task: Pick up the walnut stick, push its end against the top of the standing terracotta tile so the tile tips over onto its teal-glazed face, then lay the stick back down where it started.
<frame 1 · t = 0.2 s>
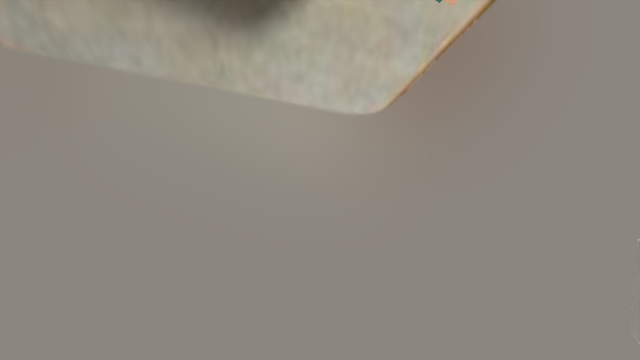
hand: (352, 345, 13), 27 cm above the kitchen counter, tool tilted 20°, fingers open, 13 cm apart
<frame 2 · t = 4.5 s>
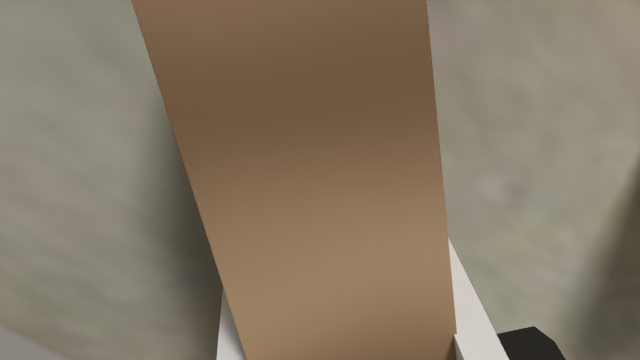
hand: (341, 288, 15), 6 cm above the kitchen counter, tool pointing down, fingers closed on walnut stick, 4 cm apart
walnut stick: (339, 275, 16), point 5 cm above the kitchen counter, touching gripper
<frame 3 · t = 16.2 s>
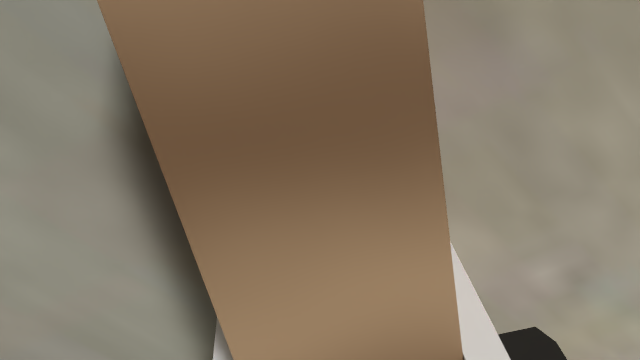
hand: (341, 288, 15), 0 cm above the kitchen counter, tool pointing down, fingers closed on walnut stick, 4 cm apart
walnut stick: (341, 290, 16), on the kitchen counter, touching gripper
when the fingers open (0 cm above the kitchen counter, at t = 17.0 s): walnut stick stays where it is, on the kitchen counter.
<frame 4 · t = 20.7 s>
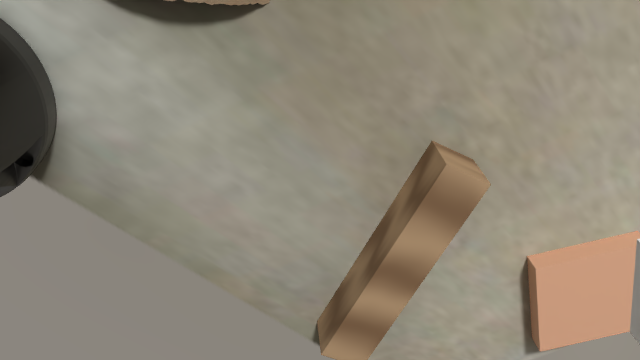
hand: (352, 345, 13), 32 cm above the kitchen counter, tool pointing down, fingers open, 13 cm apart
walnut stick: (389, 243, 51), on the kitchen counter
terracotta tile: (587, 249, 52), point 1 cm above the kitchen counter, tilted 90°
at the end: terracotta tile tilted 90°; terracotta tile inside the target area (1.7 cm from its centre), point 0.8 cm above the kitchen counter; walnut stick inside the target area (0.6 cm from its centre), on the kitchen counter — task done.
